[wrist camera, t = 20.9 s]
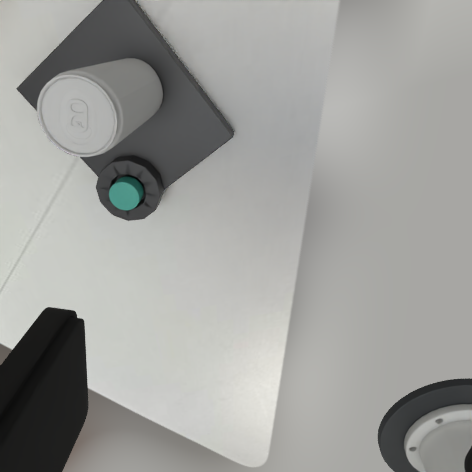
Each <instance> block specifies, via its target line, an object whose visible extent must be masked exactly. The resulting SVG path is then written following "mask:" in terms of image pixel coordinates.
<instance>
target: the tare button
mask: <svg viewBox="0 0 472 472" xmlns="http://www.w3.org/2000/svg"><path fill="white" fill-rule="evenodd" d="M143 194H144V191H143V187H142V185H141V183H140V182H139V181H138V180H137V179H135V178H133V177H129V176H125V177H121V178H120V179H118V180H117V181H116V182H115V183H114V184H113V185H112V187H111V188H110V190H109V197H110V200H111V202H112V204H113V205H114V206H115V207H117V208H119V209H121V210H131V209H133V208H135V207H136V206H137V205H138V203H139V202H140V200H141V199H142V197H143Z"/></svg>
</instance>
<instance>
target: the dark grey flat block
mask: <svg viewBox="0 0 472 472" xmlns="http://www.w3.org/2000/svg"><path fill="white" fill-rule="evenodd" d="M126 58H135V59H139V60H142V61H144V62H145V63H147V64H149V65H150V66H151V67H152V68H153V69H154V71H155V72H156V74H157V76H158V77H159V80H160V82H161V85H162V90H163V99H162V104H161V106H160V108H159V110H158V111H157V112H156V113H155V114H154V115H153V116H152V117H151V118H149V119H148V120H147V121H146V122H144V123H143V124H142V125H141V126H139V127H138V128H137V129H136V130H134V131H133V132H132V133H131V134H129V135H128V136H127V137H126V138H124V139H123V140H122V141H120V142H119V143H118V144H117V145H115V146H114V147H113V148H111V149H110V150H108V151H106V152H105V153H103V154H99V155H95V156H91V157H80V158H81V159H82V160H83V161H84V162H85V163H86V164H87V165H88V166H89V167H90V168H91V169H92V170H93V171H94V173H95V174H96V175H97V176H98V177H99V178H98V181H97V185H96V189H97V192H98V196H99V199H100V202H101V203H102V204H103V205H104V207H105V208H106V209H107V210H108V211H109V212H110V213H111V214H113V215H114V216H117V217H120V218H122V219H125V220H128V221H129V220H139V219H144V218H146V217H147V216H148V215H150V214H151V213H152V212H154V211H155V210H156V208H157V206H158V205H159V203H160V200H161V197H162V194H163V191H164V189H165V188H167V187H168V186H169V185H171V184H172V183H173V182H175V181H176V180H177V179H179V178H180V177H181V176H183V175H184V174H185V173H186V172H188V171H189V170H190V169H192V168H193V167H194V166H196V165H197V164H198V163H200V162H201V161H202V160H203V159H205V158H206V157H207V156H209V155H210V154H211V153H213V152H214V151H215V150H217V149H218V148H219V147H220V146H222V145H223V144H224V143H226V142H227V141H228V140H230V139H231V138H232V137H233V135H234V131H233V129H232V128H231V127H230V125H229V124H228V123H227V121H226V120H225V119H224V117H223V116H222V115H221V114H220V112H219V111H218V110H217V108H216V107H215V106H214V104H213V103H212V102H211V100H210V99H209V98H208V96H207V95H206V94H205V92H204V91H203V90H202V89H201V87H200V86H199V85H198V83H197V82H196V81H195V79H194V78H193V77H192V75H191V74H190V73H189V71H188V70H187V69H186V68H185V66H184V65H183V64H182V62H181V61H180V60H179V58H178V57H177V56H176V54H175V53H174V52H173V50H172V49H171V48H170V46H169V45H168V44H167V43H166V41H165V40H164V39H163V37H162V36H161V35H160V33H159V32H158V31H157V29H156V28H155V27H154V25H153V24H152V23H151V22H150V20H149V19H148V18H147V16H146V15H145V14H144V12H143V11H142V10H141V8H140V7H139V6H138V4H137V3H136V2H135V0H103V1H102V2H101V3H100V4H99V5H98V6H97V7H96V8H95V9H94V10H93V11H92V12H91V13H90V14H89V15H88V16H87V17H86V18H85V19H84V20H83V21H82V22H81V23H80V24H79V25H78V26H77V27H76V28H75V29H74V30H73V31H72V32H71V33H70V34H69V35H68V36H67V37H66V39H65V40H64V41H63V42H62V43H61V44H60V45H59V46H58V47H57V48H56V49H55V50H54V51H53V52H52V53H51V54H50V55H49V56H48V57H47V58H46V59H45V60H44V61H43V62H42V63H41V64H40V65H39V66H38V67H37V68H36V69H35V70H34V71H33V72H32V73H31V74H30V75H29V76H28V77H27V78H26V79H25V80H24V81H23V83H22V84H21V85H20V86H19V87H18V88H17V90H18V91H19V92H20V93H21V94H22V95H23V96H24V98H25V99H26V100H27V101H28V102H29V103H30V104H31V105H32V106H33V107H34V108H35V109H36V110H37V102H38V98H39V95H40V92H41V90H42V89H43V88H44V86H45V85H46V84H47V83H48V82H49V81H50V80H51V79H53V78H54V77H55V76H57V75H58V74H60V73H63V72H66V71H70V70H74V69H79V68H83V67H88V66H93V65H97V64H102V63H106V62H111V61H116V60H121V59H126ZM125 176H129V177H133V178H135V179H137V180H138V181H139V182H140V183H141V185H142V187H143V191H144V194H143V197H142V199H141V200H140V202H139V203H138V205H137V206H136V207H135V208H133V209H131V210H121V209H119V208H117V207H115V206H114V205H113V204H112V202H111V200H110V197H109V190H110V188H111V187H112V185H113V184H114V183H115V182H116V181H117V180H118V179H120V178H121V177H125Z"/></svg>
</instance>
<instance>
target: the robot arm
mask: <svg viewBox="0 0 472 472" xmlns="http://www.w3.org/2000/svg"><path fill="white" fill-rule="evenodd" d="M87 412H88V388H87V368H86V347H85V326H84V320H83V319H80V318H77V314H76V312H75V311H73V310H65V309H58V308H51V307H48V308H46V309H45V310H44V311H43V312H42V313H41V314H40V315H39V317H38V318H37V319H36V321H35V322H34V323H33V324H32V326H31V327H30V328H29V330H28V331H27V332H26V333H25V335H24V336H23V337H22V339H21V340H20V341H19V343H18V344H17V345H16V346H15V348H14V349H13V350H12V352H11V353H10V354H9V355H8V357H7V358H6V359H5V361H4V362H3V363H2V365H0V472H62V471H63V469H64V466H65V464H66V462H67V460H68V458H69V455H70V453H71V451H72V448H73V446H74V444H75V442H76V440H77V438H78V435H79V433H80V431H81V429H82V427H83V424H84V422H85V419H86V416H87ZM404 449H405V453H406V456H407V458H408V460H409V462H410V464H411V465H412V466H413V467H414V468H415V469H417V470H418V471H419V472H472V404H459V405H450V406H446V407H442V408H439V409H436V410H434V411H431V412H429V413H427V414H426V415H424V416H422V417H421V418H420V419H418V420H417V421H416V422H415V423H414V424H413V425H412V426H411V427H410V428H409V430H408V432H407V433H406V436H405V439H404Z"/></svg>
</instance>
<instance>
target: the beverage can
mask: <svg viewBox="0 0 472 472" xmlns="http://www.w3.org/2000/svg"><path fill="white" fill-rule="evenodd" d="M162 99H163V90H162V85H161V82H160V80H159V77H158V76H157V74H156V72H155V71H154V69H153V68H152V67H151V66H150V65H149V64H147V63H145V62H144V61H142V60H139V59H135V58H126V59H121V60H116V61H111V62H106V63H102V64H97V65H93V66H88V67H83V68H79V69H74V70H70V71H66V72H63V73H60V74H58V75H57V76H55V77H54V78H53V79H51V80H50V81H49V82H48V83H47V84H46V85H45V86H44V88H43V89H42V90H41V92H40V95H39V98H38V102H37V114H38V119H39V123H40V125H41V127H42V129H43V132H44V133H45V135H46V136H47V137H48V139H49V140H50V141H51V142H52V143H53V144H54V145H55V146H56V147H58V148H59V149H60V150H62V151H64V152H66V153H68V154H71V155H74V156H78V157H91V156H95V155H99V154H103V153H105V152H106V151H108V150H110V149H111V148H113V147H114V146H115V145H117V144H118V143H119V142H120V141H122V140H123V139H124V138H126V137H127V136H128V135H129V134H131V133H132V132H133V131H134V130H136V129H137V128H138V127H139V126H141V125H142V124H143V123H144V122H146V121H147V120H148V119H149V118H151V117H152V116H153V115H154V114H155V113H156V112H157V111H158V110H159V108H160V106H161V104H162Z"/></svg>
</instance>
